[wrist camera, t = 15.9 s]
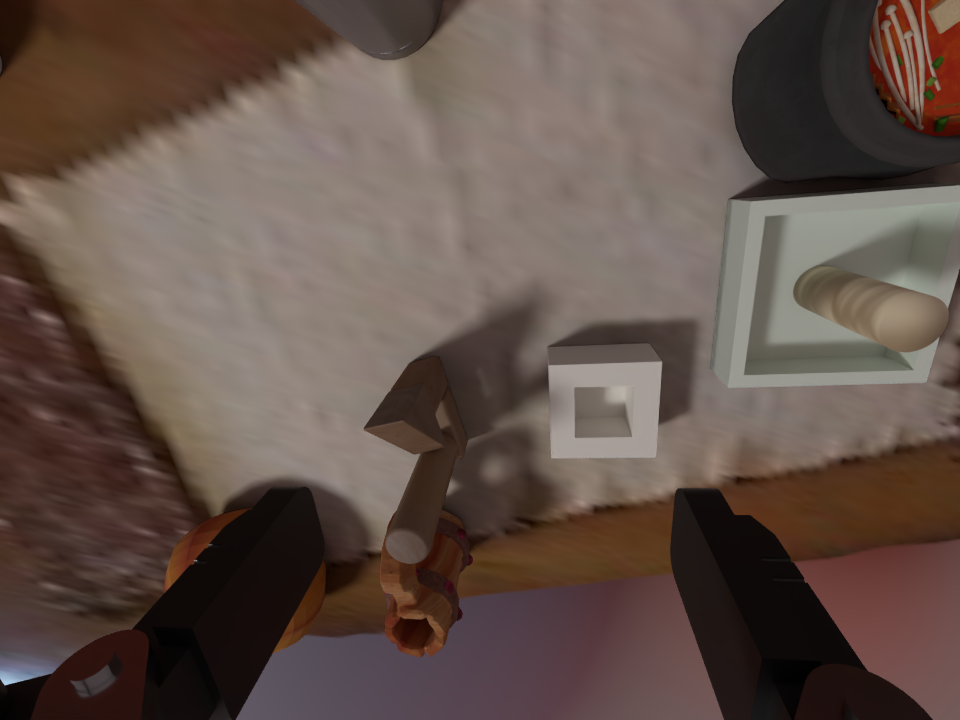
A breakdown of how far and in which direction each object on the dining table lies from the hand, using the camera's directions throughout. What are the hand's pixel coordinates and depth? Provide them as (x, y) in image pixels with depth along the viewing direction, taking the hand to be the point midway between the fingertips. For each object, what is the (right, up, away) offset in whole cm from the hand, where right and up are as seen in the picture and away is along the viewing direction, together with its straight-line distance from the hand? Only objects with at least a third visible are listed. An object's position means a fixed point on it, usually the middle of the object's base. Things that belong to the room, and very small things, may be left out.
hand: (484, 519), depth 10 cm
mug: (-5, -15, +46) cm, 49 cm away
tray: (+30, +10, +31) cm, 45 cm away
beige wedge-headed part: (-5, -1, +40) cm, 41 cm away
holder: (+12, 0, +37) cm, 39 cm away
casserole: (+32, +27, +25) cm, 49 cm away
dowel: (+30, +10, +30) cm, 44 cm away
